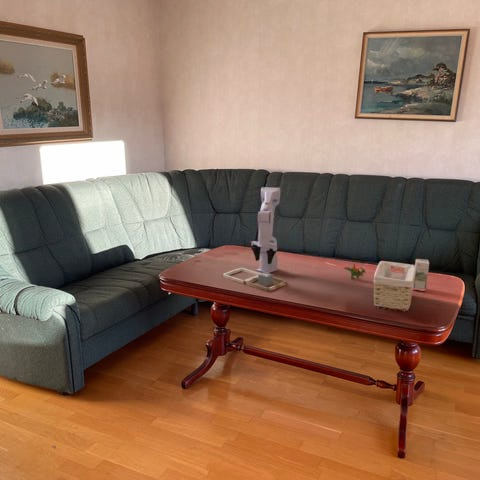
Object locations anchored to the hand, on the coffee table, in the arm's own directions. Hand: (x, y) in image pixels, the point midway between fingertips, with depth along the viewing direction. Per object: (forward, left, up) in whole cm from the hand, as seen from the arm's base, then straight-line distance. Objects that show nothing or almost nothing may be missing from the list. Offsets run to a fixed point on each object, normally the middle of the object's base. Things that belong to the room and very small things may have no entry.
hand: (263, 262), depth 224 cm
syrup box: (-41, +62, -10) cm, 75 cm away
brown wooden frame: (+4, +5, -9) cm, 11 cm away
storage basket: (-18, +59, -10) cm, 62 cm away
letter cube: (+4, +4, -10) cm, 11 cm away
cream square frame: (+4, -10, -9) cm, 15 cm away
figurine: (-33, +32, -10) cm, 47 cm away
